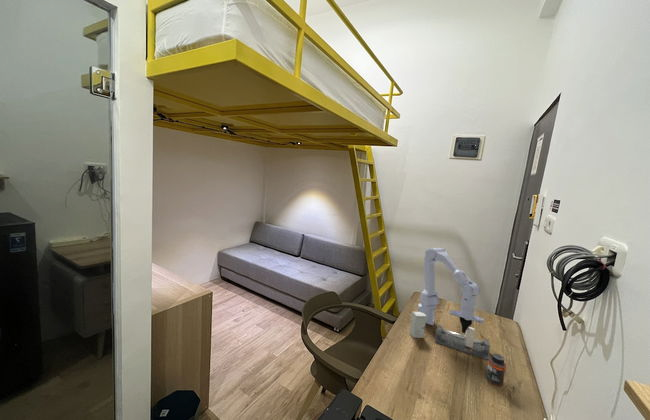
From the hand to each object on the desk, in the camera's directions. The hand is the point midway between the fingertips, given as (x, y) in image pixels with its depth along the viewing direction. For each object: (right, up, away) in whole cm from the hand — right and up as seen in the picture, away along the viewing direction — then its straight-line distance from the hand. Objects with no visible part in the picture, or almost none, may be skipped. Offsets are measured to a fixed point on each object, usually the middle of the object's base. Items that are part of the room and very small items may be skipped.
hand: (463, 332), depth 122 cm
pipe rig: (-1, -7, +1) cm, 7 cm away
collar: (+2, -6, -1) cm, 6 cm away
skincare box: (-22, -5, +5) cm, 23 cm away
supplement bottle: (0, -10, -22) cm, 24 cm away
